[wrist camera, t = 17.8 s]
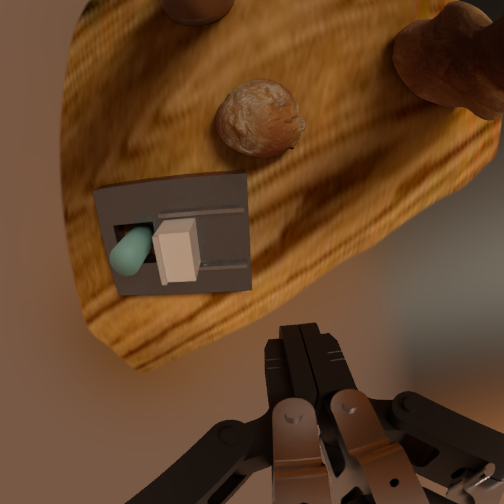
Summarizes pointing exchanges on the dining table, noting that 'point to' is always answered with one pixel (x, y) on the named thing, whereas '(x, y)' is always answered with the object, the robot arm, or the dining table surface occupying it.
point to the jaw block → (177, 250)
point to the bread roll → (259, 119)
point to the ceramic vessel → (455, 59)
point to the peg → (132, 249)
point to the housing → (178, 207)
